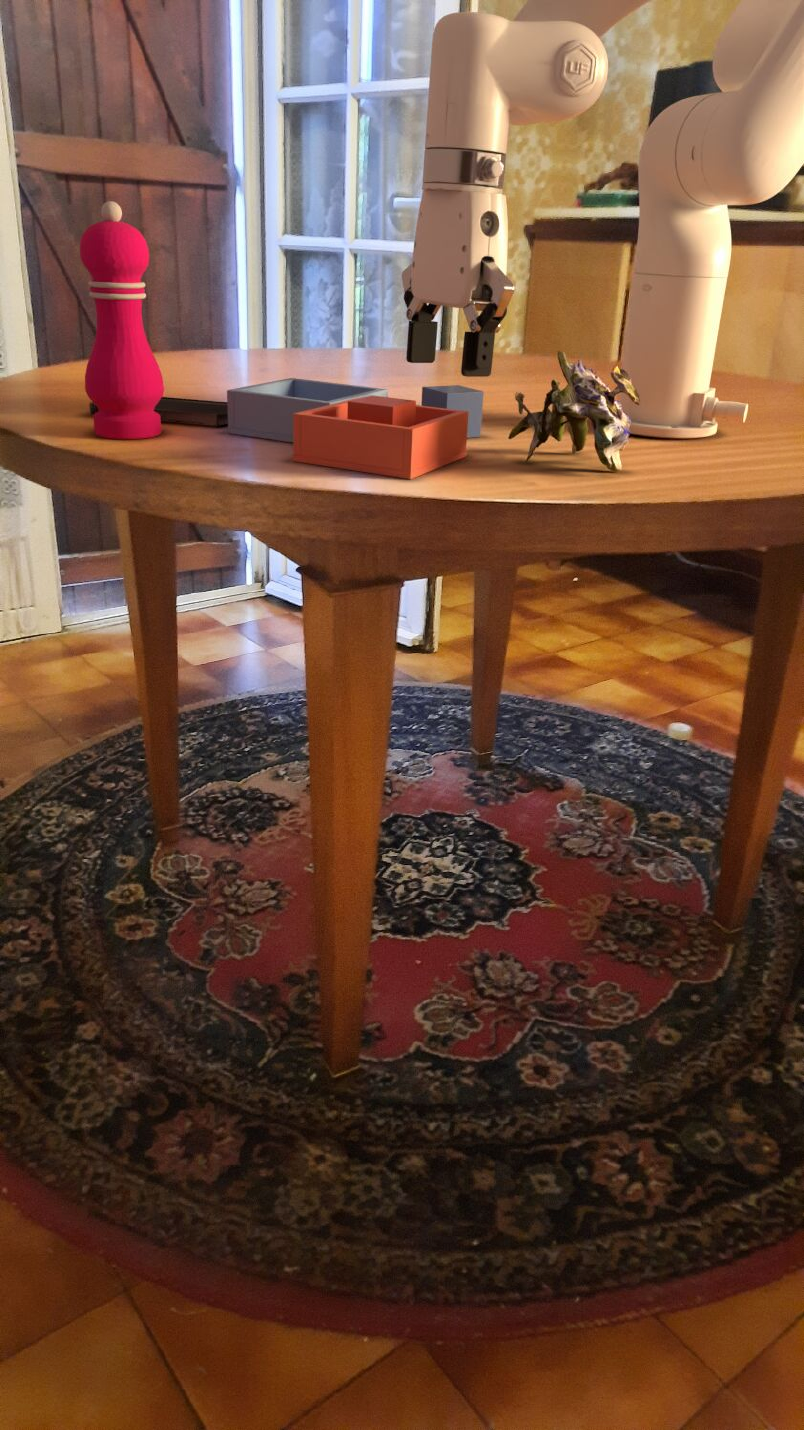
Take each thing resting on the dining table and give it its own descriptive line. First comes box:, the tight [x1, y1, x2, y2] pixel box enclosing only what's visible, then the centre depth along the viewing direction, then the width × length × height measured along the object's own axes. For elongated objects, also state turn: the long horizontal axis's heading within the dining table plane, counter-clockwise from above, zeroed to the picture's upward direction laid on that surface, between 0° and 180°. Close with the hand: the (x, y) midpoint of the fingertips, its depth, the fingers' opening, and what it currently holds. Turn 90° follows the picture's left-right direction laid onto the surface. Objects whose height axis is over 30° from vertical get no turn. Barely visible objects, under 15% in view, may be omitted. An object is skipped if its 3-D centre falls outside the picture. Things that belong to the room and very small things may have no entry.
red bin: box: [292, 398, 469, 480], centre depth 91 cm, size 12×12×4 cm
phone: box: [89, 396, 228, 427], centre depth 107 cm, size 8×1×15 cm
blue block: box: [420, 384, 485, 439], centre depth 104 cm, size 4×4×4 cm
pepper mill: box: [79, 200, 165, 440], centre depth 94 cm, size 7×7×20 cm
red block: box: [348, 395, 417, 427], centre depth 91 cm, size 4×4×4 cm
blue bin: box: [226, 377, 389, 444], centre depth 102 cm, size 12×12×4 cm
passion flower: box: [507, 350, 641, 473], centre depth 92 cm, size 11×11×12 cm
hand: (447, 369), depth 101 cm, fingers open, 9 cm apart
